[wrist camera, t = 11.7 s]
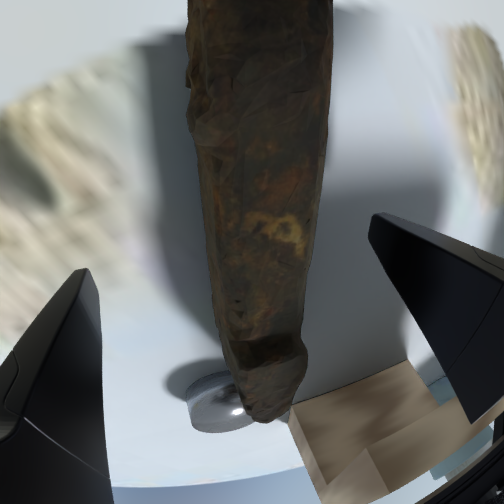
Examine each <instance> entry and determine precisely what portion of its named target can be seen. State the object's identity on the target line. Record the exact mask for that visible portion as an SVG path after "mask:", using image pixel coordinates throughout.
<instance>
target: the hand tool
mask: <svg viewBox="0 0 504 504" xmlns="http://www.w3.org/2000/svg"><path fill="white" fill-rule="evenodd" d="M185 36H186V47H187V51H188V55H189V59H190V60H189V64H188V67H187V70H186V87H187V88H190V89H191V95H190V102H189V105H188V109H187V113H186V117H187V122H188V126H189V131H190V133H191V134H192V137H193V139H194V141H195V147H196V152H197V157H198V172H199V181H200V192H201V201H202V209H203V217H204V225H205V233H206V249H207V257H208V265H209V272H210V280H211V287H212V293H213V294H212V302H213V309H214V316H215V322H216V326H217V328H218V331H219V337H220V340H221V343H222V349H223V355H224V358H225V361H226V364H227V367H228V368H229V370H230V373H231V375H232V378H233V380H234V383H235V386H236V389H237V391H238V394H239V397H240V400H241V402H242V404H243V407H244V409H245V412H246V414H247V415H249V416H251V418H252V420H253V421H256V422H259V423H267V424H268V423H270V422H272V421H273V420H275V419H276V418H277V417H280V416H282V415H283V414H284V413H285V412H287V411H288V410H289V408H290V406H291V405H292V400H293V397H294V395H295V392H296V391H297V389H298V387H299V385H300V383H301V382H302V380H303V378H304V376H305V373H306V370H307V364H308V353H307V349H306V347H305V345H304V343H303V341H302V340H301V325H302V321H303V313H304V299H305V289H306V279H307V272H308V269H309V266H310V262H311V258H312V252H313V245H314V238H315V231H316V223H317V216H318V208H319V201H320V196H321V190H322V182H323V173H324V163H325V153H326V145H327V137H328V114H329V105H330V93H331V76H332V61H333V0H188V25H187V28H186V32H185Z"/></svg>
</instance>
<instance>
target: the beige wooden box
mask: <svg viewBox="0 0 504 504" xmlns="http://www.w3.org/2000/svg"><path fill="white" fill-rule="evenodd" d="M503 411H504V398H503V399H502V400H501V401H499V402H498V403H497V404H496V405H495V406H494V407H493V408H492V409H490V410H489V411H488V412H487V413H486V414H484V415H483V416H482V417H481V418H480V419H478V420H477V421H476V422H475V423H473V424H472V425H471V424H470V422H469V421H468V419H467V416H466V414H465V412H464V410H463V408H462V406H461V404H460V402H459V400H458V398H457V396H455V397H454V398H452V399H451V400H449V401H448V402H446V403H445V404H443V405H442V406H439V404H438V403H437V401H436V400H435V398H434V397H433V395H432V394H431V392H430V391H429V389H428V388H427V386H426V385H425V383H424V382H423V381H422V379H421V378H420V376H419V375H418V373H417V372H416V370H415V369H414V367H413V366H412V365H411V363H410V362H409V360H408V359H407V360H405V361H403V362H401V363H399V364H397V365H395V366H392V367H390V368H388V369H386V370H384V371H381V372H379V373H377V374H374V375H372V376H370V377H367V378H365V379H362V380H360V381H358V382H355V383H353V384H350V385H347V386H345V387H342V388H340V389H337V390H334V391H332V392H329V393H326V394H323V395H321V396H318V397H315V398H312V399H309V400H306V401H303V402H300V403H297V404H294V405H291V409H290V414H289V420H288V427H289V429H290V431H291V434H292V436H293V439H294V441H295V443H296V446H297V448H298V450H299V453H300V455H301V457H302V460H303V462H304V464H305V467H306V469H307V471H308V474H309V476H310V478H311V480H312V482H313V485H314V487H315V490H316V492H317V494H318V496H319V499H320V501H321V503H322V504H368V503H370V502H373V501H375V500H377V499H379V498H382V497H384V496H386V495H388V494H390V493H392V492H393V491H395V490H397V489H399V488H401V487H402V486H404V485H406V484H408V483H409V482H411V481H412V480H414V479H416V478H417V477H419V476H420V475H422V474H424V473H425V472H427V471H428V470H430V469H431V468H433V467H434V466H436V465H437V464H439V463H440V462H442V461H443V460H445V459H446V458H447V457H449V456H450V455H452V454H453V453H454V452H456V451H457V450H458V449H460V448H461V447H462V446H463V445H465V444H466V443H467V442H469V441H470V440H471V439H472V438H474V437H475V436H476V435H477V434H478V433H480V432H481V431H482V430H483V429H484V428H486V427H487V426H488V425H489V424H490V423H491V422H492V421H494V420H495V418H496V417H497V416H499V415H500V414H501V413H502V412H503Z"/></svg>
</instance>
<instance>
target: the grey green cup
mask: <svg viewBox="0 0 504 504" xmlns="http://www.w3.org/2000/svg"><path fill="white" fill-rule="evenodd" d="M427 388H428V389H429V391H430V392H431V394H432V395H433V397H434V398H435V400H436V401H437V403H438V404H439V406H442V405H443V404H445V403H446V402H448V401H449V400H451V399H452V398H454V397H455V396H456V394H455V392H454V390H453V388H452V386H451V384H450V382H449V380H448V378H447V377H443V378H441V379H439V380H437V381H436V382H434V383H433V384H431V385H430V386H428V387H427ZM493 432H494V431H493V430H492V428H491V427H490V426H489V425H488V426H487V427H486V428H484V429H483V430H482V431H481V432H480V433H478V434H477V435H476V436H475V437H474V438H472V439H471V440H470V441H469V442H467V443H466V444H465V445H463V446H462V447H461V448H460V449H458V450H457V451H456V452H454V453H453V454H452V455H450V456H449V457H447V458H446V459H445V460H443V461H442V462H440V463H439V464H437V465H436V466H434V467H433V468H431V469H430V472H431V474H432V476H433V479H434V480H437V479H439V478H441V477H442V476H444V475H446V474H447V473H449V472H451V471H452V470H454V469H455V468H456V467H458V466H459V465H461V464H462V463H463V462H465V461H466V460H467V459H469V458H470V457H471V456H473V455H474V454H475V453H476V452H478V451H479V450H480V449H481V448H482V447H484V446H485V445H486V444H487V443H488V442H489V441H490V440H491V439H492V438H493Z"/></svg>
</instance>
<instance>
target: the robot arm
mask: <svg viewBox="0 0 504 504" xmlns="http://www.w3.org/2000/svg"><path fill="white" fill-rule="evenodd" d="M368 240H369V242H370V244H371V246H372V248H373V250H374V251H375V253H376V255H377V257H378V259H379V261H380V263H381V265H382V266H383V268H384V270H385V272H386V274H387V276H388V277H389V279H390V281H391V282H392V284H393V285H394V287H395V288H396V290H397V292H398V293H399V295H400V296H401V298H402V299H403V301H404V303H405V304H406V306H407V308H408V309H409V311H410V312H411V314H412V316H413V317H414V319H415V321H416V322H417V324H418V326H419V327H420V329H421V331H422V333H423V334H424V336H425V338H426V340H427V341H428V343H429V345H430V347H431V348H432V350H433V352H434V354H435V356H436V357H437V359H438V361H439V363H440V365H441V367H442V368H443V370H444V372H445V374H446V376H447V378H448V380H449V382H450V384H451V386H452V388H453V390H454V392H455V394H456V396H457V398H458V400H459V402H460V404H461V406H462V408H463V410H464V412H465V414H466V416H467V419H468V421H469V422H470V424H471V425H472V424H473V423H475V422H476V421H477V420H478V419H480V418H481V417H482V416H483V415H484V414H486V413H487V412H488V411H489V410H490V409H492V408H493V407H494V406H495V405H496V404H497V403H498V402H499V401H501V400H502V399H503V398H504V259H503V258H501V257H498V256H496V255H493V254H491V253H488V252H486V251H483V250H481V249H479V248H476V247H474V246H471V245H469V244H467V243H464V242H462V241H459V240H457V239H454V238H452V237H449V236H447V235H444V234H442V233H439V232H436V231H434V230H431V229H428V228H426V227H423V226H421V225H418V224H415V223H412V222H410V221H407V220H404V219H401V218H399V217H396V216H393V215H390V214H387V213H383V212H382V213H376V214H374V215H373V216H372V218H371V222H370V227H369V232H368ZM109 478H110V475H109V467H108V459H107V450H106V439H105V427H104V411H103V387H102V332H101V319H100V304H99V293H98V289H97V287H96V285H95V282H94V280H93V277H92V275H91V273H90V271H89V269H87V268H83V269H78V270H75V271H74V272H73V273H72V274H71V275H70V277H69V278H68V279H67V280H66V281H65V282H64V284H63V285H62V286H61V287H60V288H59V289H58V291H57V292H56V293H55V294H54V296H53V297H52V298H51V299H50V300H49V302H48V303H47V304H46V305H45V307H44V308H43V309H42V310H41V312H40V313H39V314H38V316H37V317H36V318H35V319H34V321H33V322H32V323H31V325H30V326H29V327H28V329H27V330H26V331H25V333H24V334H23V335H22V337H21V338H20V339H19V341H18V342H17V343H16V345H15V346H14V348H13V351H11V352H10V353H9V355H8V356H7V358H6V359H5V360H4V362H3V363H2V365H1V366H0V504H114V501H113V494H112V488H111V481H110V479H109ZM415 504H504V411H503V412H502V413H501V414H500V415H499V416H497V417H496V418H495V421H494V432H493V441H492V446H491V447H490V448H489V449H487V450H486V451H485V452H484V453H483V454H482V455H481V456H479V457H478V458H477V459H476V460H475V461H473V462H472V463H471V464H470V465H469V466H467V467H466V468H465V469H464V470H462V471H461V472H460V473H458V474H457V475H456V476H454V477H453V478H452V479H450V480H449V481H448V482H446V483H445V484H444V485H442V486H441V487H439V488H438V489H436V490H435V491H434V492H432V493H431V494H429V495H428V496H426V497H425V498H423V499H421V500H420V501H418V502H417V503H415Z"/></svg>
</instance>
